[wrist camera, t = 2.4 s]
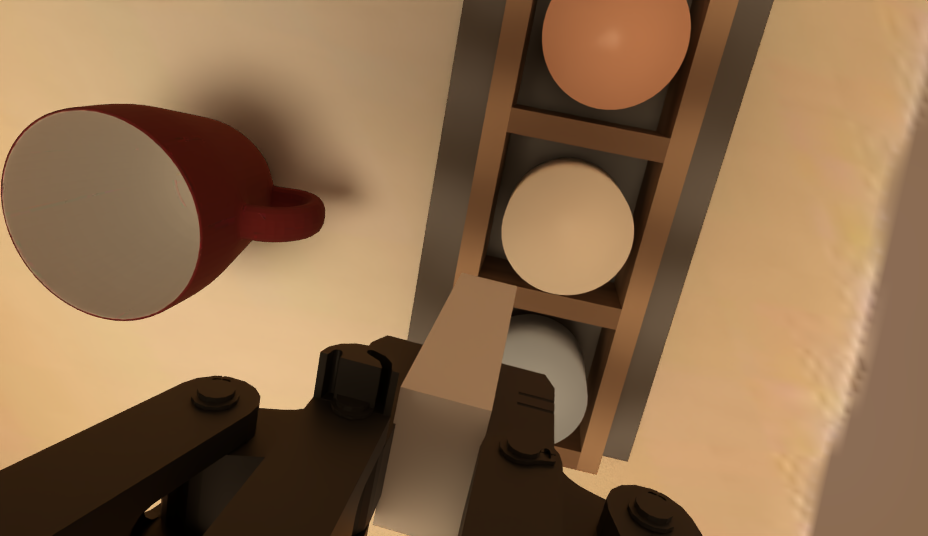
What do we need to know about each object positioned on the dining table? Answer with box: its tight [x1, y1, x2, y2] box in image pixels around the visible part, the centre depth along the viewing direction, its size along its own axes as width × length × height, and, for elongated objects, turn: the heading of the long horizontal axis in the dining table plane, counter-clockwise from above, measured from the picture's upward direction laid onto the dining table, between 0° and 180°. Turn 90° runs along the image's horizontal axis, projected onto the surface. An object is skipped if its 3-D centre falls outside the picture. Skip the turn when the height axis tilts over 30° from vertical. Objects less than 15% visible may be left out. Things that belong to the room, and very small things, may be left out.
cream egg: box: [502, 158, 634, 295], centre depth 26 cm, size 5×5×3 cm
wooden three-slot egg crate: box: [407, 0, 774, 475], centre depth 28 cm, size 26×13×4 cm, turn 170°
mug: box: [1, 104, 325, 321], centre depth 27 cm, size 11×8×10 cm
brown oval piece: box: [542, 0, 691, 110], centre depth 23 cm, size 5×5×3 cm
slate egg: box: [502, 314, 588, 444], centre depth 28 cm, size 5×5×3 cm
